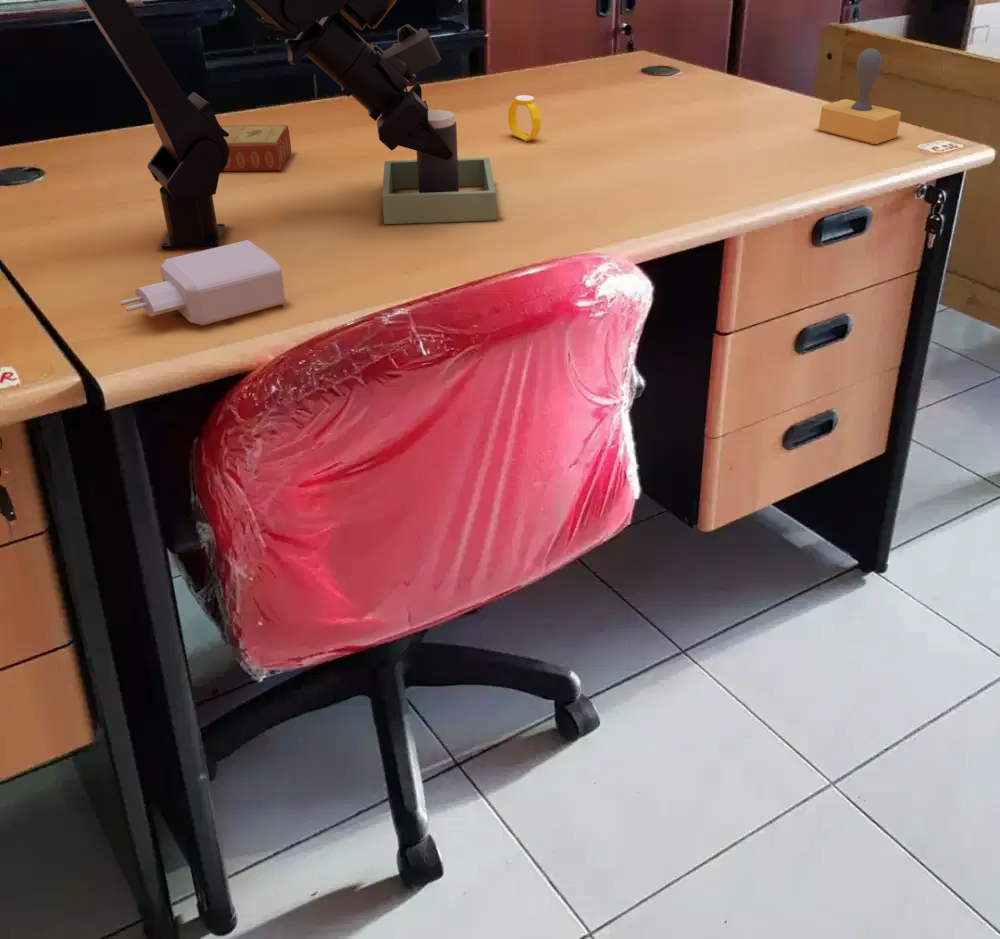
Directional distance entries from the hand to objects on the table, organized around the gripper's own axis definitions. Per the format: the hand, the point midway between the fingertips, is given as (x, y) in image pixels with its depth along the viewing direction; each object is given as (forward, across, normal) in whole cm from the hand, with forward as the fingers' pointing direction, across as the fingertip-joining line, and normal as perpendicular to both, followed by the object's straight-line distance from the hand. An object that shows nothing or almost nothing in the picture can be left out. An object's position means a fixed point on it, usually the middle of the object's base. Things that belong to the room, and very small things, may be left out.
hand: (448, 150), depth 132 cm
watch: (+15, +25, -5) cm, 30 cm away
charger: (-16, -27, +25) cm, 40 cm away
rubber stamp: (+49, +18, -39) cm, 65 cm away
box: (+4, 0, +6) cm, 7 cm away
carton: (-15, +22, +25) cm, 37 cm away
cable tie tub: (+4, 0, +6) cm, 7 cm away
